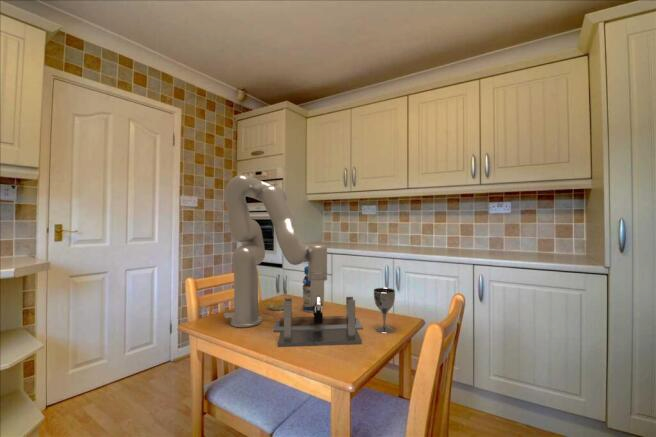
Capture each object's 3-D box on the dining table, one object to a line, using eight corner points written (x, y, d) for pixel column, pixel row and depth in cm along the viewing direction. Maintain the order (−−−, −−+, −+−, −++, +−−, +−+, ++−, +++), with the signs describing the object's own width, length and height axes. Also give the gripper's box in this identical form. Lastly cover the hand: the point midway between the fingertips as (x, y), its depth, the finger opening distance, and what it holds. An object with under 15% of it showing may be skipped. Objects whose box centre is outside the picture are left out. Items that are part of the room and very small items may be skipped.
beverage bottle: (320, 307, 145) (320, 265, 145) (321, 312, 137) (321, 268, 137) (302, 307, 144) (302, 265, 145) (302, 312, 136) (302, 268, 136)
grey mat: (273, 331, 113) (273, 330, 113) (275, 322, 124) (276, 320, 124) (362, 329, 116) (362, 327, 116) (358, 319, 126) (358, 318, 126)
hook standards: (277, 346, 100) (277, 304, 100) (280, 335, 110) (280, 296, 110) (361, 343, 102) (361, 302, 102) (356, 332, 112) (356, 294, 112)
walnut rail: (279, 326, 117) (279, 320, 117) (280, 323, 120) (280, 317, 120) (355, 324, 119) (355, 317, 120) (354, 321, 122) (354, 315, 122)
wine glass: (389, 335, 109) (389, 293, 109) (370, 330, 114) (369, 290, 114) (398, 328, 116) (398, 289, 116) (379, 324, 120) (379, 286, 121)
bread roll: (275, 304, 150) (275, 296, 150) (289, 307, 145) (289, 299, 145) (263, 309, 143) (263, 300, 143) (277, 312, 138) (277, 303, 138)
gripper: (308, 272, 128) (308, 312, 128) (308, 280, 111) (308, 327, 111) (325, 272, 129) (325, 312, 129) (328, 280, 112) (328, 326, 111)
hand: (317, 319), depth 120 cm, fingers open, 9 cm apart
